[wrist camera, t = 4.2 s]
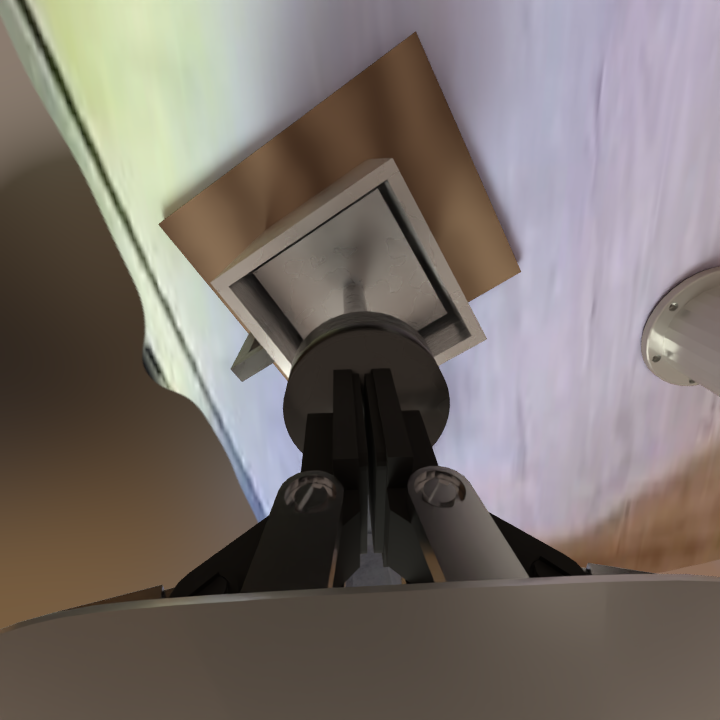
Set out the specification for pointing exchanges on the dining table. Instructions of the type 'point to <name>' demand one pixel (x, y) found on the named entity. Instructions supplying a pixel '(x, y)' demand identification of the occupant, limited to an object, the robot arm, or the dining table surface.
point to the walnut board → (341, 155)
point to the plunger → (357, 314)
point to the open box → (237, 281)
